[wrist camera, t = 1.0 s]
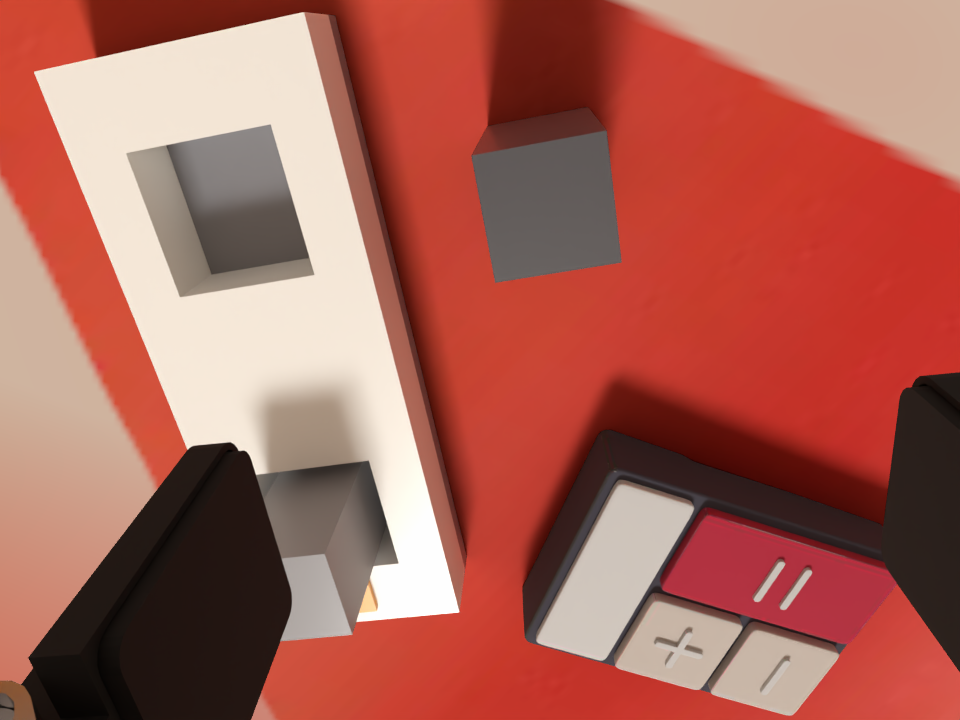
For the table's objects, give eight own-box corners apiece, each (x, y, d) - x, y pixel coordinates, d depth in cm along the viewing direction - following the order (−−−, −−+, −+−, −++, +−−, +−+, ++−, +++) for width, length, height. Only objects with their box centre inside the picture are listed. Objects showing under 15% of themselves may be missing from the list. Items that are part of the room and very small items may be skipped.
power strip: (334, 15, 27) (301, 11, 23) (466, 556, 37) (458, 616, 33) (98, 67, 29) (28, 72, 25) (287, 575, 39) (259, 635, 35)
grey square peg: (370, 442, 34) (324, 553, 26) (390, 511, 35) (352, 634, 28) (290, 453, 34) (224, 564, 27) (313, 520, 36) (257, 643, 29)
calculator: (797, 730, 36) (521, 654, 34) (768, 661, 40) (519, 590, 38) (924, 573, 32) (614, 476, 30) (877, 513, 36) (601, 424, 34)
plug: (587, 106, 28) (606, 130, 21) (599, 207, 29) (621, 262, 22) (487, 125, 28) (471, 155, 21) (504, 223, 30) (495, 282, 23)
